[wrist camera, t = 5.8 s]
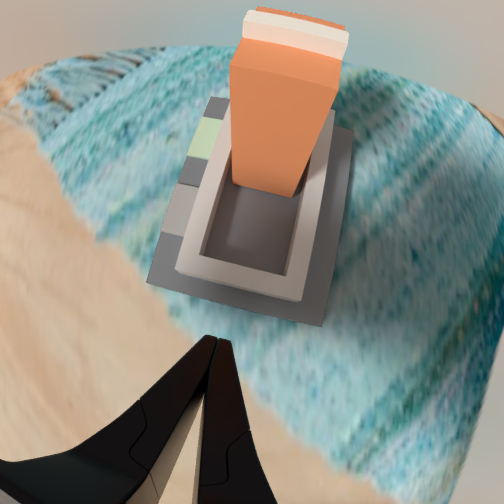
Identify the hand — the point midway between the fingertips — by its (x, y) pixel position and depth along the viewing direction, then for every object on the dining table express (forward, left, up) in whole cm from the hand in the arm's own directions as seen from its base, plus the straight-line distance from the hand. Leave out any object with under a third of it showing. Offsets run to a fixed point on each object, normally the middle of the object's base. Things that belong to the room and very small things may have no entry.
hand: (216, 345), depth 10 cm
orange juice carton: (+9, -5, -8) cm, 13 cm away
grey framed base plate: (+7, -4, -8) cm, 11 cm away
